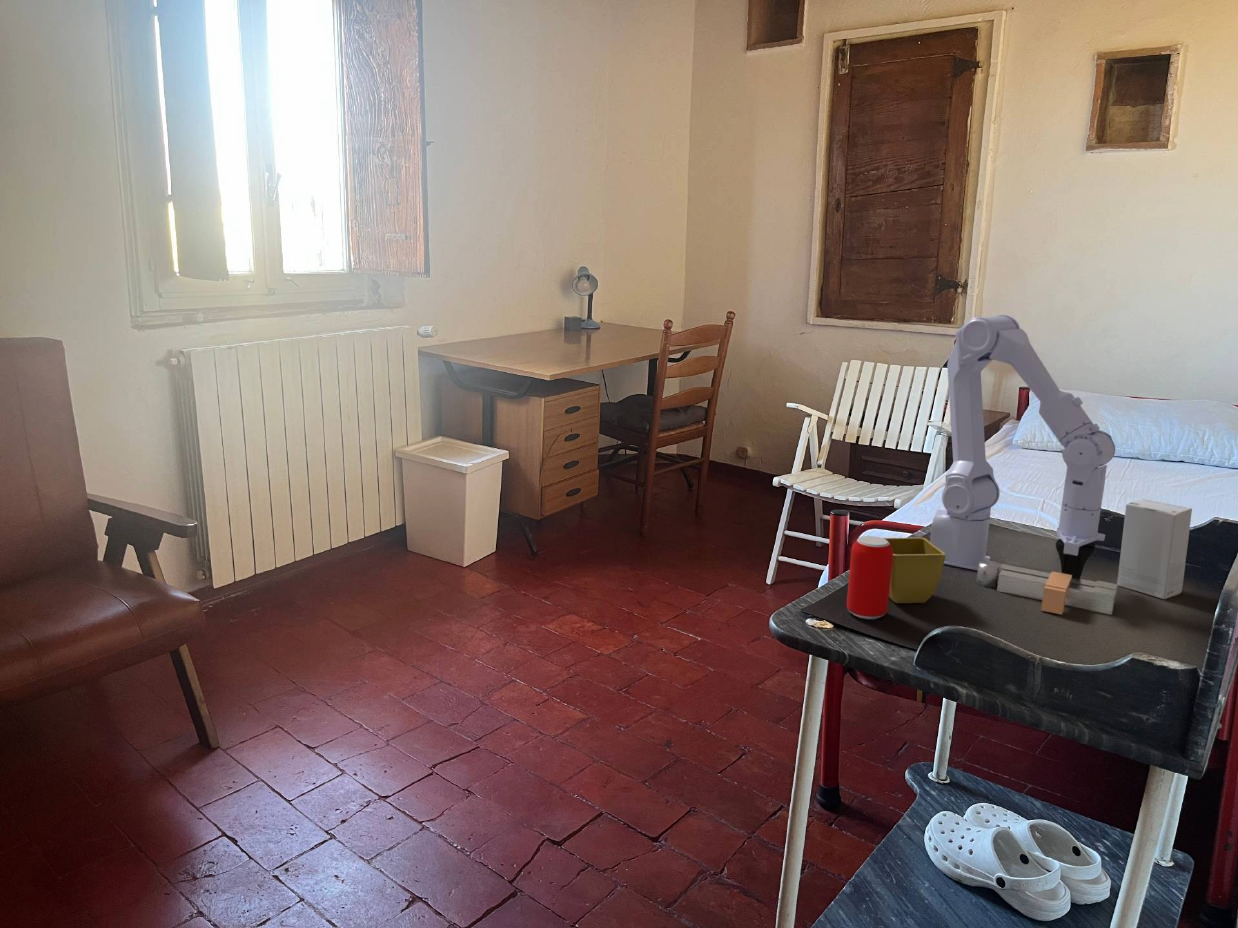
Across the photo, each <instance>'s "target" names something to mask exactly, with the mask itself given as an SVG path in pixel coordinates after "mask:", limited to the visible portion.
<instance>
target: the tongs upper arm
mask: <svg viewBox="0 0 1238 928" xmlns="http://www.w3.org/2000/svg"><path fill="white" fill-rule="evenodd" d="M1001 570H1005V571H1010V572H1015V573H1021V574H1026V575H1031V576H1036V577H1041V578H1046V579H1048V578H1049V576H1050V574H1051V572H1046V571H1041V570H1036V569H1032V568H1031V569H1030V568H1026V567H1020V566H1015V565H1009V564H1005V563H1000V562H998V561H993V560H982V561H979V564H978V570H977V573H976V574H977V575H976V584H977V585H979V586H982V587H985V588H997V586H998V578H999V573H1000V572H1001ZM1070 583H1072V584H1077V585H1082V586H1088V587H1093V588H1095V586H1096V587H1101V588H1106V589H1111V590H1116V595H1115V601H1114V607H1115V604H1116V598H1117V592H1118V584H1117V583H1112V582H1107V581H1101V580H1096V581H1094V580H1090V579H1089V580H1088V579H1084V578H1080V579H1079V578H1073V577H1072V580H1071V582H1070ZM1114 607H1113V609H1114Z"/></svg>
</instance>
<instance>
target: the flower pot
mask: <svg viewBox="0 0 1238 928" xmlns="http://www.w3.org/2000/svg"><path fill="white" fill-rule="evenodd" d="M883 538H884V539H886V540H887V541H888V542H889V543H890V545H891V547H892V550H893V561H892V571H891V581H890V591H889V599H890V600H892V602H894V603H895V604H924V603H925V604H926V602H927V601H928V600H929V599H930V598H931V597H932V596H933V594H934V593H935V592H936V590H937V589H938V586H939V584H940V581H941V577H942V573H943V570H944V565H945V564H944V561H945V557H946V554H945V553H944V552H943V551H941V550H940V549H938V548H937V547H935V546H934V545H933V544H932V543H930V540H928V539H927V538H925V537H883Z"/></svg>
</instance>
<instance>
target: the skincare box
mask: <svg viewBox="0 0 1238 928" xmlns="http://www.w3.org/2000/svg"><path fill="white" fill-rule="evenodd" d="M1124 511H1125V513H1124V521H1123V531H1122V540H1121V547H1120V548H1121V549H1120V557H1119V565H1118V573H1117V583H1116V584H1118V586H1119V587H1122V588H1126V589H1128V590H1132V591H1136V592H1139V593H1141V594H1146V595H1150V596H1152V597H1155V598H1158V599H1162V600H1167V599H1169V598H1171V597H1175V596H1178V595H1180V594H1181V593H1182V590H1183V585H1184V584H1183V583H1184V578H1185V577H1184V576H1185V569H1186V561H1187V560H1186V559H1187V553H1188V546H1189V545H1188V544H1189V539H1190V538H1189V535H1190V529H1191V521H1192V511H1193V508H1192V507H1191V508H1190V507H1186V506H1181V505H1175V504H1169V503H1165V502H1160V501H1156V500H1152V499H1146V498H1140V499H1137V500H1135V501H1132V502H1129V503H1126V504H1125V510H1124Z"/></svg>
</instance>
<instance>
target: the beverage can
mask: <svg viewBox="0 0 1238 928" xmlns="http://www.w3.org/2000/svg"><path fill="white" fill-rule="evenodd" d="M884 538H885V537H880V536H875V535H864V536H860V537H858V538H857V539H856V541H855V542H854V543H853V545H852V547H851V551H850V563H849V564H850V565H849V574H848V583H847V584H848V586H847V598H846V608H847V611H848V612H849V613H850V614H852V615H853V616H854V617H857V618H860V619H864V620H876V619H879V618H881V617H884V616H885V614H886V613H887V612H888V610H889V599H890V597H889V591H890V581H891V571H892V561H893V550H892V547H891V545H890V543H889V542H888V541H887V540H886V539H884Z"/></svg>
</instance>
